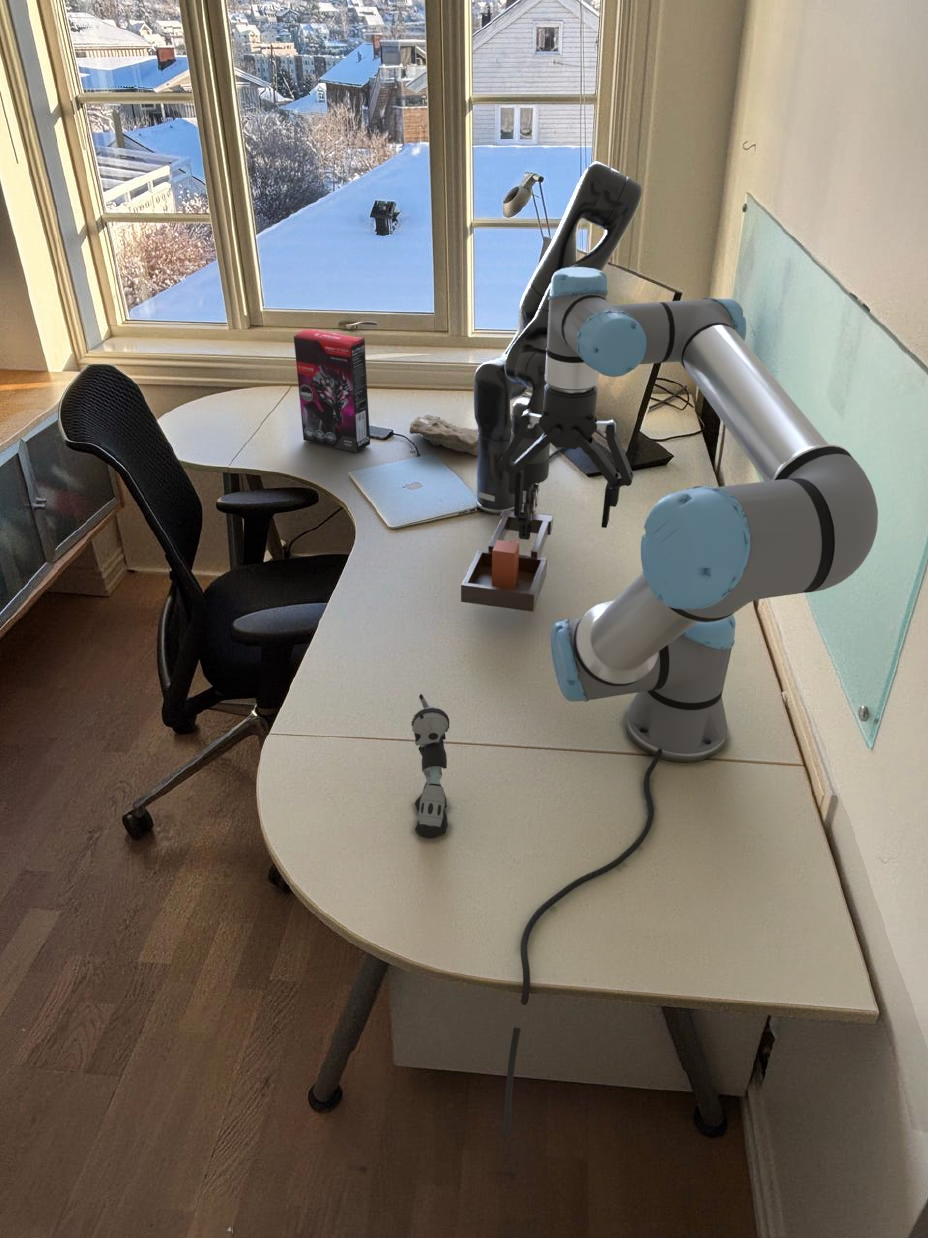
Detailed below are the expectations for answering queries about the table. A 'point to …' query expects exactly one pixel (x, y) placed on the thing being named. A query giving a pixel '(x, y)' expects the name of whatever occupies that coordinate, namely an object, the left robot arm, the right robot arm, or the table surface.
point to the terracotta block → (505, 564)
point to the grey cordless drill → (431, 769)
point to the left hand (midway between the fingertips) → (525, 534)
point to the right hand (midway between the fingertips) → (561, 518)
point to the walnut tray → (529, 569)
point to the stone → (446, 434)
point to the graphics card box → (333, 389)
